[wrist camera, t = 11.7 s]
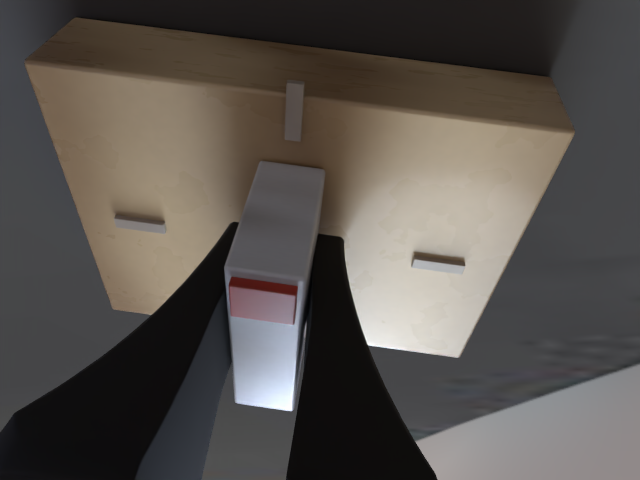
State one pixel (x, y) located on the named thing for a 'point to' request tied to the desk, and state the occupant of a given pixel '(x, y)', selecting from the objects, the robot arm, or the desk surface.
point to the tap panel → (300, 163)
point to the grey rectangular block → (272, 282)
